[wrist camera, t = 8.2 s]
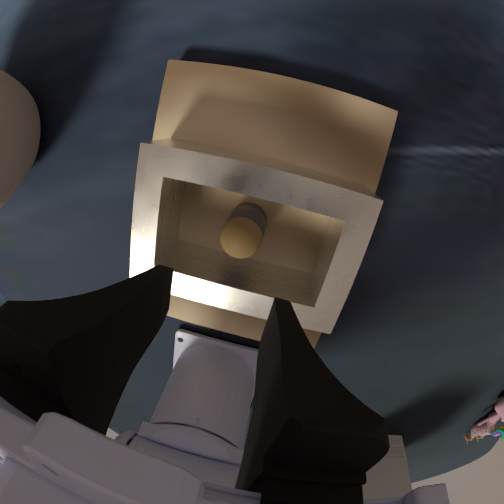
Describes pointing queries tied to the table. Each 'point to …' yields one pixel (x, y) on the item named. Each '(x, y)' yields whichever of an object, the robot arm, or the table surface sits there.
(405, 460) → the supplement box
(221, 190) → the board
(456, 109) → the table surface
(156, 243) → the beige hollow boxy piece
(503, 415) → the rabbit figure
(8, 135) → the vase
